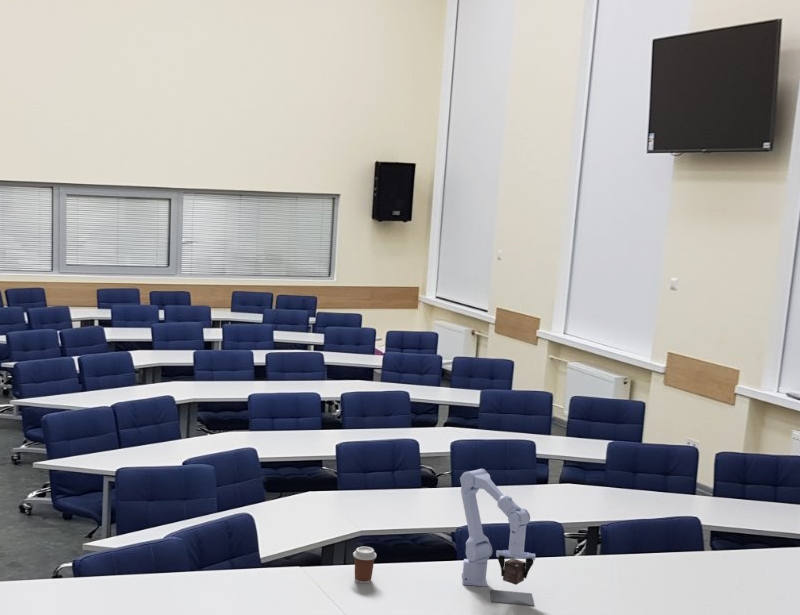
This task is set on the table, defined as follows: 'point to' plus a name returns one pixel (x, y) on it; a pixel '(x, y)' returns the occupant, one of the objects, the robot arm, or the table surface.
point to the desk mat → (511, 597)
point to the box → (514, 571)
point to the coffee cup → (364, 564)
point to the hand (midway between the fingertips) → (513, 576)
